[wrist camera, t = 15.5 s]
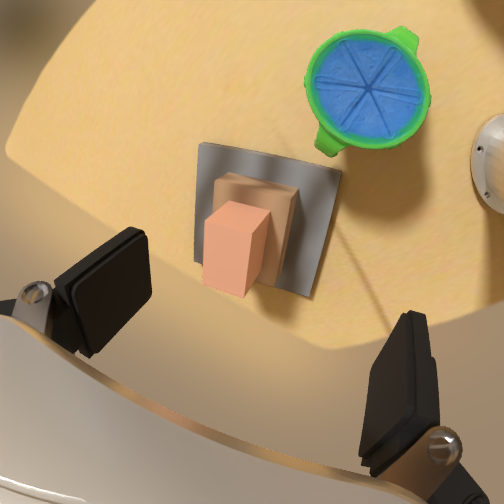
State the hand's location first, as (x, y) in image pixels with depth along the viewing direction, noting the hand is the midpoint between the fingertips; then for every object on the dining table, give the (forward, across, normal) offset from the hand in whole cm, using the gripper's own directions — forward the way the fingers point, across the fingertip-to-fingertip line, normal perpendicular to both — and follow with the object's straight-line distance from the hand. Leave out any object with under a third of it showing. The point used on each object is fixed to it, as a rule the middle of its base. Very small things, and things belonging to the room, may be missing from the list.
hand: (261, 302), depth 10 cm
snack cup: (+28, -2, -8) cm, 30 cm away
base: (+28, +8, +11) cm, 31 cm away
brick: (+23, +8, +11) cm, 27 cm away
